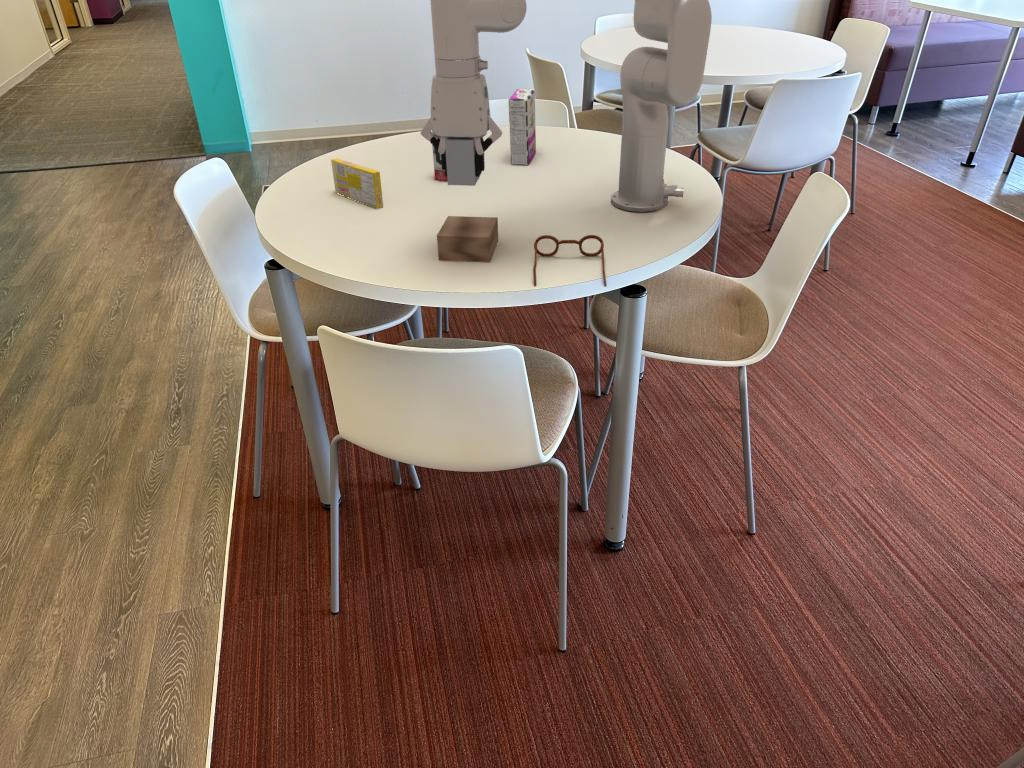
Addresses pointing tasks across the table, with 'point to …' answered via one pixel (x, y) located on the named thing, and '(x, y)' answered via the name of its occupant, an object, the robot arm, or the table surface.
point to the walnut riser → (468, 239)
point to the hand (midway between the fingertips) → (463, 173)
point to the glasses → (568, 243)
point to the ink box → (438, 166)
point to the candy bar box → (522, 126)
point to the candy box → (357, 182)
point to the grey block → (461, 161)
